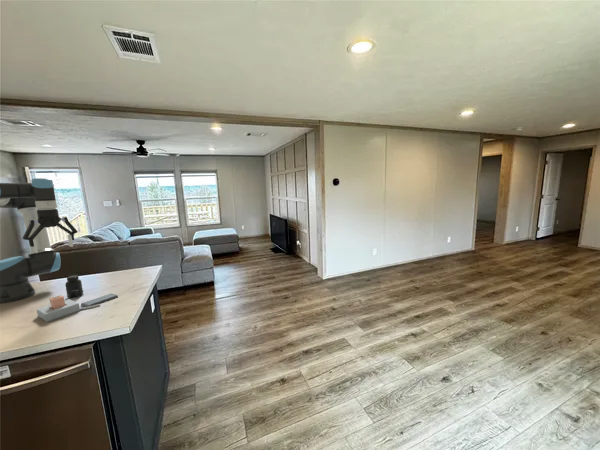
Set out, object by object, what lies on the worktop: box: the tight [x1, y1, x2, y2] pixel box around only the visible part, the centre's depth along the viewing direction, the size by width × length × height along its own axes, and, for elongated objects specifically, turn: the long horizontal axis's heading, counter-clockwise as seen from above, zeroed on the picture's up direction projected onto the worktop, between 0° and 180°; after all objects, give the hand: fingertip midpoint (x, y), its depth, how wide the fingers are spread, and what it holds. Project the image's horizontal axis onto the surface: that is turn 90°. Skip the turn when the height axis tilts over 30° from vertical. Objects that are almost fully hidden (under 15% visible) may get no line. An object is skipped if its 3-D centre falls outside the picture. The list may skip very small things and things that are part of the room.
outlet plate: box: [36, 298, 81, 323], centre depth 119 cm, size 12×12×4 cm
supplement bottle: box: [64, 274, 84, 300], centre depth 140 cm, size 7×7×12 cm
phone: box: [80, 293, 119, 308], centre depth 132 cm, size 7×14×1 cm, turn 151°
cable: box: [80, 303, 102, 311], centre depth 125 cm, size 8×1×1 cm, turn 121°
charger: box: [49, 295, 65, 310], centre depth 119 cm, size 4×4×9 cm
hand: (54, 249), depth 127 cm, fingers open, 13 cm apart
